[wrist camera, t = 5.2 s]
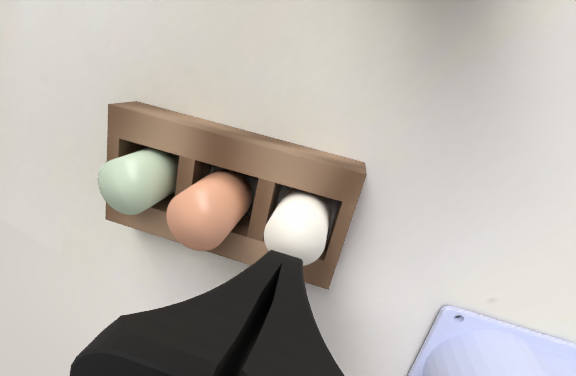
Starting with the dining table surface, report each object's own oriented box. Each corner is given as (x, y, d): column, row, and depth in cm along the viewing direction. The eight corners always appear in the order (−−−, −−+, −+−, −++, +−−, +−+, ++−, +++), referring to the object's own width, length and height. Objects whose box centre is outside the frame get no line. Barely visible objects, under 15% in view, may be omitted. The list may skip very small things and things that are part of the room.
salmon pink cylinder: (256, 177, 18) (232, 201, 14) (246, 224, 19) (221, 258, 15) (205, 162, 18) (169, 183, 14) (199, 210, 19) (163, 240, 15)
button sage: (190, 151, 19) (153, 168, 16) (185, 197, 20) (149, 221, 17) (144, 139, 19) (98, 151, 16) (141, 184, 21) (97, 205, 17)
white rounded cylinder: (337, 193, 18) (333, 220, 15) (323, 238, 19) (316, 273, 16) (286, 178, 19) (270, 202, 15) (275, 224, 20) (258, 255, 16)
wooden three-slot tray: (364, 162, 18) (366, 174, 16) (331, 266, 20) (328, 289, 18) (136, 101, 19) (108, 104, 17) (131, 205, 22) (105, 219, 20)
